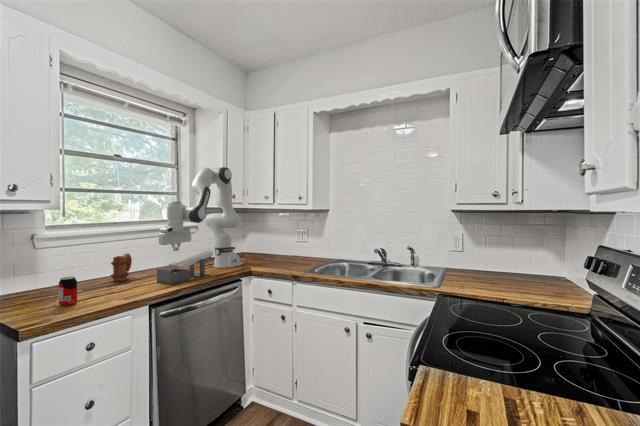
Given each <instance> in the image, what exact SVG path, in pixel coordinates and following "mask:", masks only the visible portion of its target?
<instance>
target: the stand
mask: <svg viewBox="0 0 640 426" xmlns="http://www.w3.org/2000/svg"><path fill="white" fill-rule="evenodd" d="M205 265H206V263H205V259H200V263H199V272H197V271H195V263H194V264H192V265H190V266H188V270H190V278H192V277H193V278H192V279H198V278H200V279H204V278H207V277H206V276H208V277H211V275H210V273H206V272H205V271H206V270H205V269H206V268H205ZM203 277H204V278H203Z"/></svg>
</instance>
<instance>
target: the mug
mask: <svg viewBox="0 0 640 426" xmlns="http://www.w3.org/2000/svg"><path fill="white" fill-rule="evenodd" d="M132 262H133V260H132V256H131V254H130V253H124V254H123V255H121V256H120V255H119V256H118V255H117V256H114V257H113V258H112V262H110V265H112V268H113V269H112V272H113V273H112V274H111V275H110V278H112V279H113V281H115V282H123V281H126V280H127V279H128V276H129V275H130V273H129V272H130V269H131V268H132V264H133V263H132Z"/></svg>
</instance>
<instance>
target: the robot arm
mask: <svg viewBox="0 0 640 426" xmlns="http://www.w3.org/2000/svg"><path fill="white" fill-rule="evenodd" d="M232 177H233V175H232V172H231V170H230V168H229V167H225V166H224V167H223V166H222V167H214V168H209V167H203V168H200V170H199V171H198V172H197V174H196V175H195V177H194V179H193V180H192V183H191V188H192V190H193V191H194V192H195V193H196V194H197V195H198V196H199V199H198V201H197V204H196V205H195V206H187V205H184V203H183V202H181V201H177V200H176V201H171V202H169V203H168V204H167V209H166V216H167V222H166V223H167V224H166V225H165V226H163V227H160V228H159V230H158V231H159V234H158V244H159V245H160V246H168V245H170V246H171V247H172V251H173V252H176V251H177V252H178V251H179V250H180V248H181V244H182V243H188V242H189V243H190V242H191V241H192V233H191V228H190V227H189V226H186V227H184V222H185V223H196V224H199V223H201V222H203V221H205V224H206V226H207V227H209V228H210V230H211V231H212V233H213V236H214V240H215V241H214V242H215V243H214V245H215V246H214V262H213V266H212V267H213V268H216V269H217V268H220V269H223V268H235V267H237V266H241V265H244V262H242V261H241V257H240V255H239V254H237V253H236V252H234V250H236V246H232V236H231V234H230V233H228V232H227V231H225V229H233V228H238V227H239V226H240V224H241V223H242V219H241V216H240V215H239V214H238V213H237V212H236V211H235V209H234V206H233V187H232V182H231V181H232ZM212 184H214V185H215V184H216V195H215V196H216V197H215V198H216V199H215V204H216V206H217V207H218V208H220V209H222V212H212V213H208V214H207V215H206V211H207V208H208V204H209V201H210V197H211V189H210V187H211V186H212ZM204 219H205V220H204Z"/></svg>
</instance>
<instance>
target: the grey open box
mask: <svg viewBox="0 0 640 426" xmlns="http://www.w3.org/2000/svg"><path fill="white" fill-rule="evenodd" d="M175 272H176V273H175ZM185 281H186V282H189V281H191V277H190V270H189V269H185V268H179V267H175V268H171V269H165V268H156V282H158V283H159V284H162V285H163V284H164V285H169V286H172V285H177V283H178V284H181V283H180V282H182V283H186V282H185Z"/></svg>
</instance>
